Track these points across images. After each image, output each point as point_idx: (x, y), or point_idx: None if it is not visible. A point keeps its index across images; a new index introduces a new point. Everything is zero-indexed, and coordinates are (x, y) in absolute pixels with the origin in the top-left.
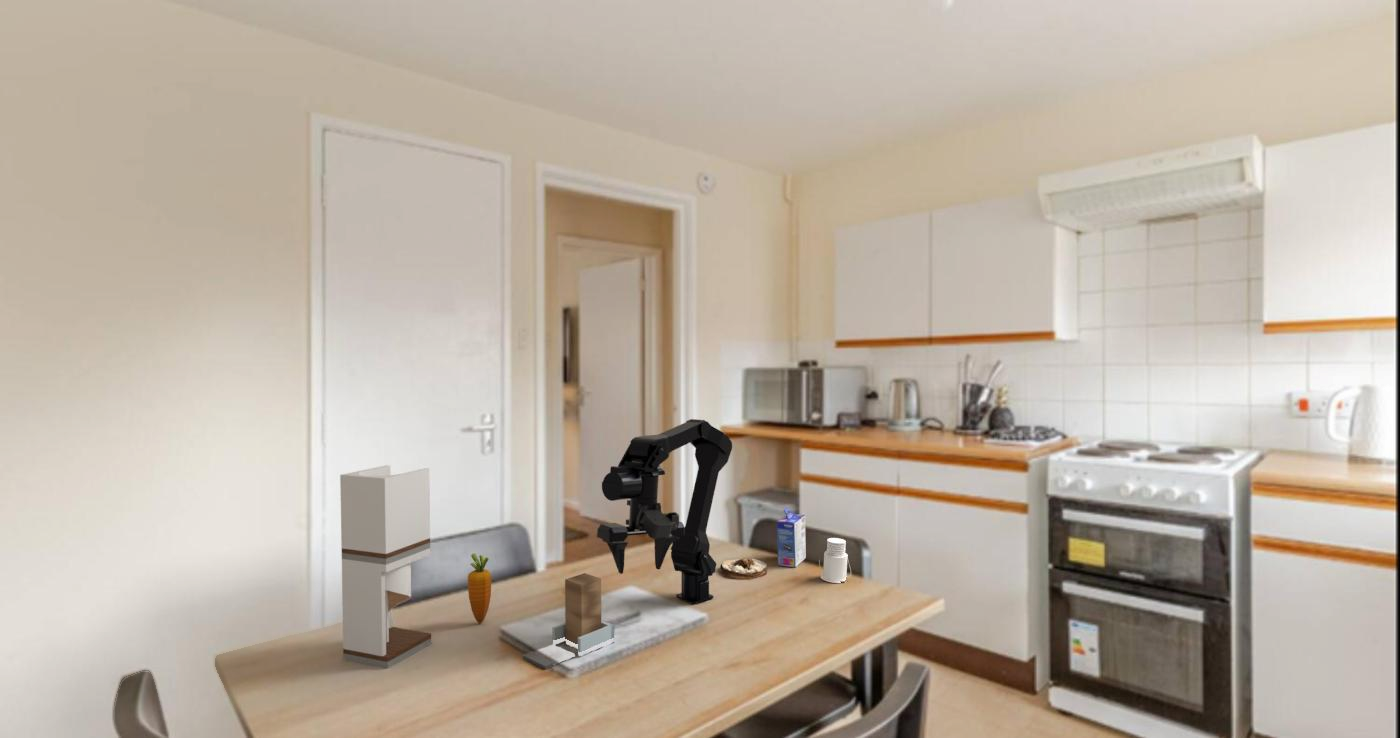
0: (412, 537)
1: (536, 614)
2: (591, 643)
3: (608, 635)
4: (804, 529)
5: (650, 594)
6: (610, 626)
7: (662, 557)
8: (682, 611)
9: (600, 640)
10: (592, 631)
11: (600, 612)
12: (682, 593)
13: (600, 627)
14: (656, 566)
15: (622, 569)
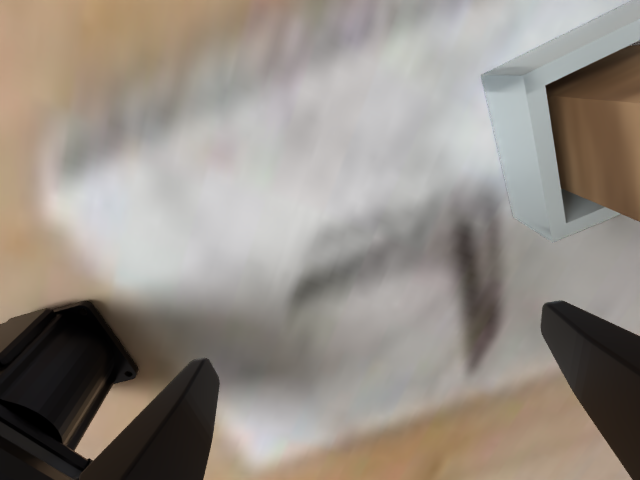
0: None
1: None
2: (632, 9)
3: (536, 58)
4: None
5: (218, 407)
6: (545, 66)
7: (135, 440)
8: (141, 259)
9: (575, 37)
10: (618, 71)
11: (634, 99)
12: (111, 377)
13: (572, 94)
14: (213, 389)
15: (583, 318)
